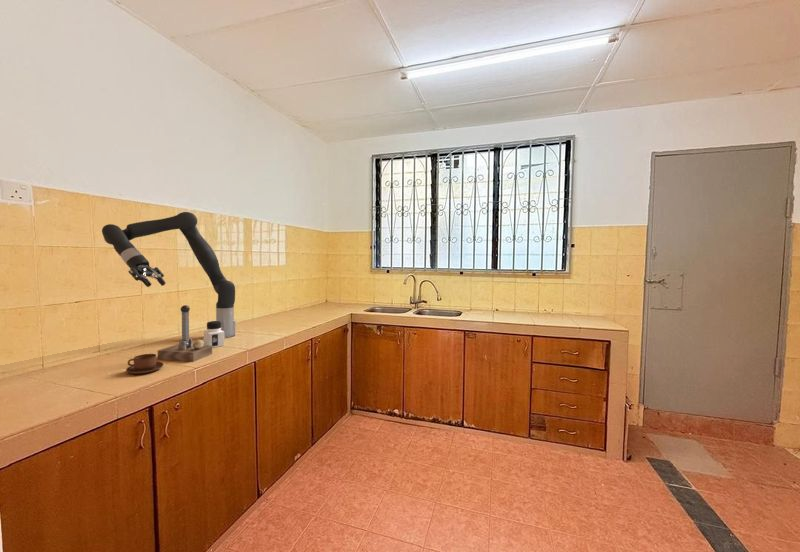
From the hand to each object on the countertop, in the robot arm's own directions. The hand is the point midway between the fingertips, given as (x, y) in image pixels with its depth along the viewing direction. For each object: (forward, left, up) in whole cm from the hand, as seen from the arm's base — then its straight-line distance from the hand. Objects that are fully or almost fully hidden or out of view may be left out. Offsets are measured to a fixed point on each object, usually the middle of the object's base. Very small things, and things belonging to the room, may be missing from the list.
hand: (157, 285), depth 154 cm
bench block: (-7, +13, -33) cm, 36 cm away
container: (-24, +3, -33) cm, 41 cm away
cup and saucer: (+11, +21, -34) cm, 41 cm away
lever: (-7, +12, -29) cm, 32 cm away
